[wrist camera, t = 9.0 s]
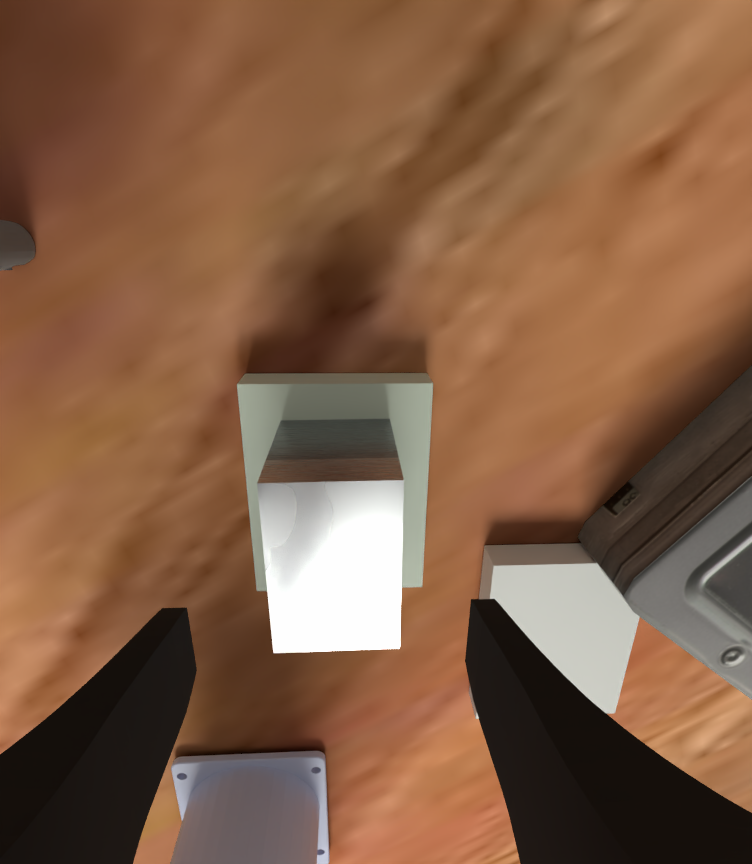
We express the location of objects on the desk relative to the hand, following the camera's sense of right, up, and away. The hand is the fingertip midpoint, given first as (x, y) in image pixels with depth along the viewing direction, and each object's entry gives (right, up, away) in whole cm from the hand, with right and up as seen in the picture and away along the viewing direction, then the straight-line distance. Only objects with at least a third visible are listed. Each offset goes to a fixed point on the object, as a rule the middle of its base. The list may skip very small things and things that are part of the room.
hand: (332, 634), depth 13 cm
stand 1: (0, +3, +8) cm, 9 cm away
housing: (0, +3, +7) cm, 7 cm away
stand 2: (+9, -4, +12) cm, 15 cm away
